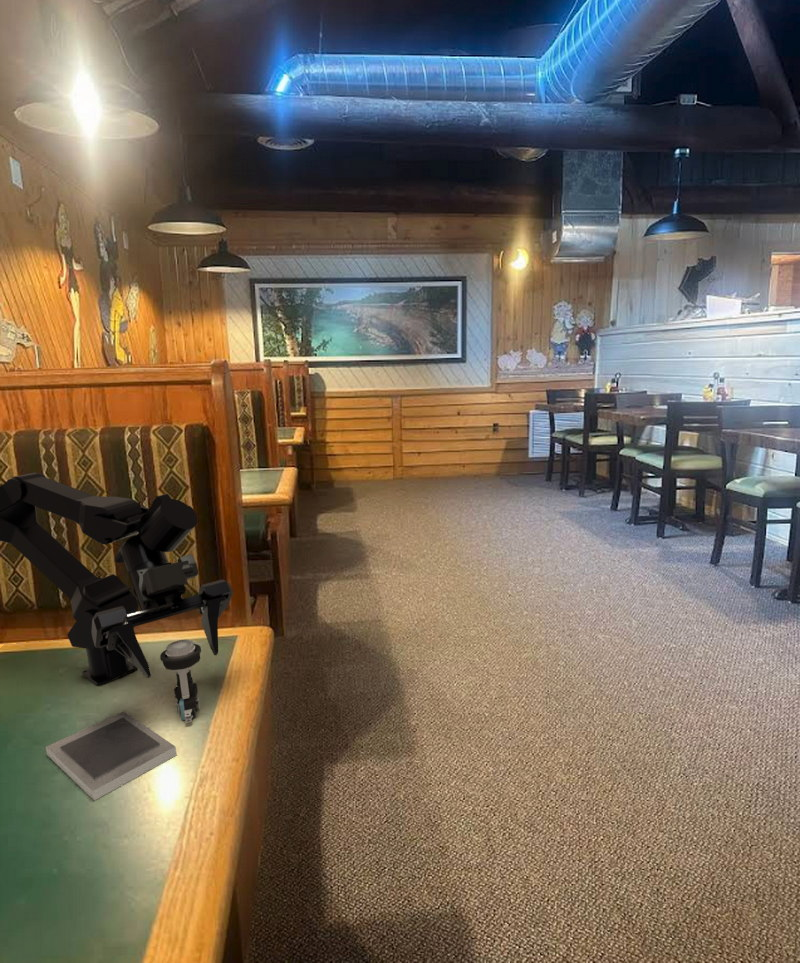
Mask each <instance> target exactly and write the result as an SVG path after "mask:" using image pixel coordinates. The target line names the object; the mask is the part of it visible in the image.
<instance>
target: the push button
mask: <svg viewBox="0 0 800 963" xmlns="http://www.w3.org/2000/svg"><path fill="white" fill-rule="evenodd" d="M201 653H202V646H200V645H199V644H196V643H194V641H193V640H190V639H179V640H176V641H172V642H170V643H169V644H168V645H166V647H165V650H163V651H162V652H161V654H160V656H159V657H160V658H159V659H160V661H161V662H162V666H163V667H164V668H165V669H166V670H167V671H168V670H169V671H172V672H176V673H175V675H176V686H175V688H174V689H173V694H174V698H175V699H176V702H175V708H176V709H175V710H176V715H178V714H179V708H180V714H181V715H180V716H181V721H185V724H190V723H192V720H193V719H195V718H196V711H197V712H198V710H201V706H200V698H199V696H198V693H199V691H198V684H197V683H196V682H193V676H192V670H191V668H193V667H194V666H195V665H197V663H199V662H200V660H201ZM197 705H198V706H197ZM178 707H179V708H178ZM197 707H198V708H197Z"/></svg>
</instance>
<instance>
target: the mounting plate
mask: <svg viewBox="0 0 800 963" xmlns="http://www.w3.org/2000/svg"><path fill="white" fill-rule="evenodd" d="M45 750H46V755H47V757H49V759H50V760H51V761H53V762H54V764H55V765H57V766H58V767H59V768H60V769H61V770H62V771H63V773H65V774H66V775H67V776H68V777H69V778H70V779H71V780H72V781H73V782H74V783H75V784H76V785H77V786H78V787H80V789H82V791H83V792H84V793H86V795H88V796H89V798H91V799H92V800H93V801H97V800H98V799H100V798H102V797H104V796H106V795H107V794H109V793H111V792H113V791H114V790H116V789H118V788H120V787H121V786H123V785H126V784H127V783H129V782H131V781H133V780H134V779H136V778H138V777H139V776H142V775H144V774H145V773H147V772H149V771H151V770H152V769H154V768H157V767H158V766H160V765H161V764H163V763H165V762H167V761H169V760H170V759H172V758H174V757H176V756H177V748H176V746H175V745H174V744H173V743H171V742H170V741H168V740H166V739H165V738H164V737H162V736H161V735H159V734H158V733H157V732H155V730H152V728H149V727H148V726H146V725H145V724H143V723H142V722H141V721H140V720H138V719H136V718H135V717H133V716H132V715H131V714H129V713H127V712H126V711H125V710H123V711H120V712H118V713H115V714H113V715H111V716H109V717H108V718H105V719H103V720H100V721H99V722H97V723H94V724H92V725H90V726H88V727H86V728H84V729H81V730H79V731H76V732H75V733H73V734H71V735H68V736H66V737H64V738H62V739H60V740H57V741H55V742H53V743H51V744H49V745H47V746H45Z"/></svg>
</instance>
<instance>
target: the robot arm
mask: <svg viewBox="0 0 800 963" xmlns="http://www.w3.org/2000/svg"><path fill="white" fill-rule="evenodd" d="M37 508H39V509H41V510H44V511H46V512H48V513H52V514H53V515H56V516H59V517H61V518H64V519H67V520H68V521H72V522H74V523H76V524H77V525H79V527H80V530H81V533H83V534H84V535H86V536H87V537H88V538H90V539H92V540H93V541H95V542H97V543H98V544H101V545H110V544H113V543H115V542H118V541H121V540H123V539H126V538H127V539H126V541H125V542H124V543H123V544H120V546H119V549H118V551H117V553H116V555H115V559H114V562H115V563H116V564H121V563H122V564H125V567H126V570H127V573H128V575H129V580H130V582H131V584H132V587H133V588H132V587H130V586H128V585H126V584H125V583H124V582H123V581H122V579H121V578H120V577H119V576H117V575H115V574H113V573H112V574H110V575H108V576H105V577H99V576H97V575H95V574H94V573H93V572H92V571H91V570H90V569H88V568H87V567H86V565H84V563H83V562H81V561H80V560H79V559H78V558H77V557H75V555H73V554H72V553H71V552H70V551H69V550H68V549H67V548H66V547H65V546H64V545H63V544H61V543H60V541H58V540H57V539H56V538H55V537H54V536H52V534H50V533H49V532H48V531H47V530H46V529H45V528H44V527H43V526H42V525H41V524H40V523H39V522H38V513H37ZM198 520H199V519H198V515H197V513H196V511H195V510H194V508H193V507H192V506H190V505H188V504H187V503H186V502H184V501H181V500H179V499H174V498H172V497H171V496H170V495H169V494H168V493H164V494H160V495H157V496H156V497H155V498H154V499H153V501H152V502H151V505H150V506H149V507H146V506H142V505H141V504H140V503H139V502H138V501H137V500H135V499H133V498H128V497H121V496H99V495H94V494H91V493H88V492H86V491H83V490H80V489H78V488H75V487H72V486H70V485H67V484H64V483H61V482H59V481H57V480H56V481H55V480H53V479H51V478H49V477H46V475H44V474H43V473H39V472H32V473H31V472H30V473H27V474H20V475H15V476H13V477H11V478H10V479H7V480H6V481H5V482H4V483H3V484H1V485H0V542H2V543H6V544H10V545H12V546H13V548H15V549H16V550H17V551H18V552H19V553H21V555H23V557H25V558H26V559H27V560H28V561H29V562H30V563H31V564H32V565H33V566H34V567H35V568H36V569H37V570H38V571H39V572H41V574H43V576H45V577H46V578H47V579H48V580H49V581H50V582H51V583H52V584H53V585H54V586H55V587H56V588H58V590H60V592H62V594H64V595H65V596H66V597H68V599H69V600H70V603H71V604H70V606H71V612H72V618H73V619H74V620H75V623H74V624H73V625H72V627H71V629H70V630H68V632H67V634H66V635H67V638H68V641H69V642H70V644H71V646H72V647H73V648H80V649H85V652H86V658H87V664H88V668H87V669H85V670H83V671H81V675H82V676H83V677H85V678H86V679H88V680H89V681H90V682H92V683H93V684H95V685H96V686H101V685H103V684H106V683H108V682H111V681H113V680H115V679H118V678H120V677H122V676H125V675H127V674H131V673H132V672H135V671H137V670H139V671H140V673H141V674H142V675H143V676H144V677H145V678H146V679H150V678H151V677H152V673H151V669H150V665H149V662H148V661H147V659H146V656H145V654H144V651H143V650H142V647H141V645H140V643H139V641H138V639H137V636H136V633H135V629H134V628H135V627H139V626H141V625H145V624H148V623H153V622H155V621H159V620H162V619H166V618H170V617H173V616H176V615H180V614H183V613H187V612H191V611H193V610H197V609H198V612H199V614H200V615H201V618H200V623H201V626H202V628H203V632H204V634H205V637H206V639H207V642H208V645H209V648H210V650H211V652H212V654H213V655H214V656H217V655H218V654H219V626H218V625H219V624H218V623H219V617H220V618H221V616H222V614H223V612H224V611H225V610H227V609H228V607H229V605H230V602H231V600H232V597H233V594H234V591H233V588H232V587H231V584H230V582H228V581H226V580H225V579H222V578H221V579H218V580H214V581H211V582H206V583H204V584H200V588H199V591H198V592H197V594H195V595H192V596H188V597H185V598H183V595H185V594H186V590H187V589H186V587H185V585H188V584H189V582H188V581H189V580H190V579H194V578H196V577H197V576H198V575H199V568H198V564H197V562H196V559H195V557H194V555H193V554H192V553H191V554H187V555H183V556H180V557H179V558H178V559H177V562H173V563H172V562H170V561H169V559H168V556H167V554H166V553H169V552H174V551H175V549H177V548H178V546H180V544H181V543H182V542H183V541H184V539H186V538H187V536H188V535H190V533H191V531H193V530H194V528H195V527H196V526H197V524H198ZM132 590H133V591H132ZM131 591H132V592H131ZM139 609H140V610H139Z"/></svg>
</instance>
